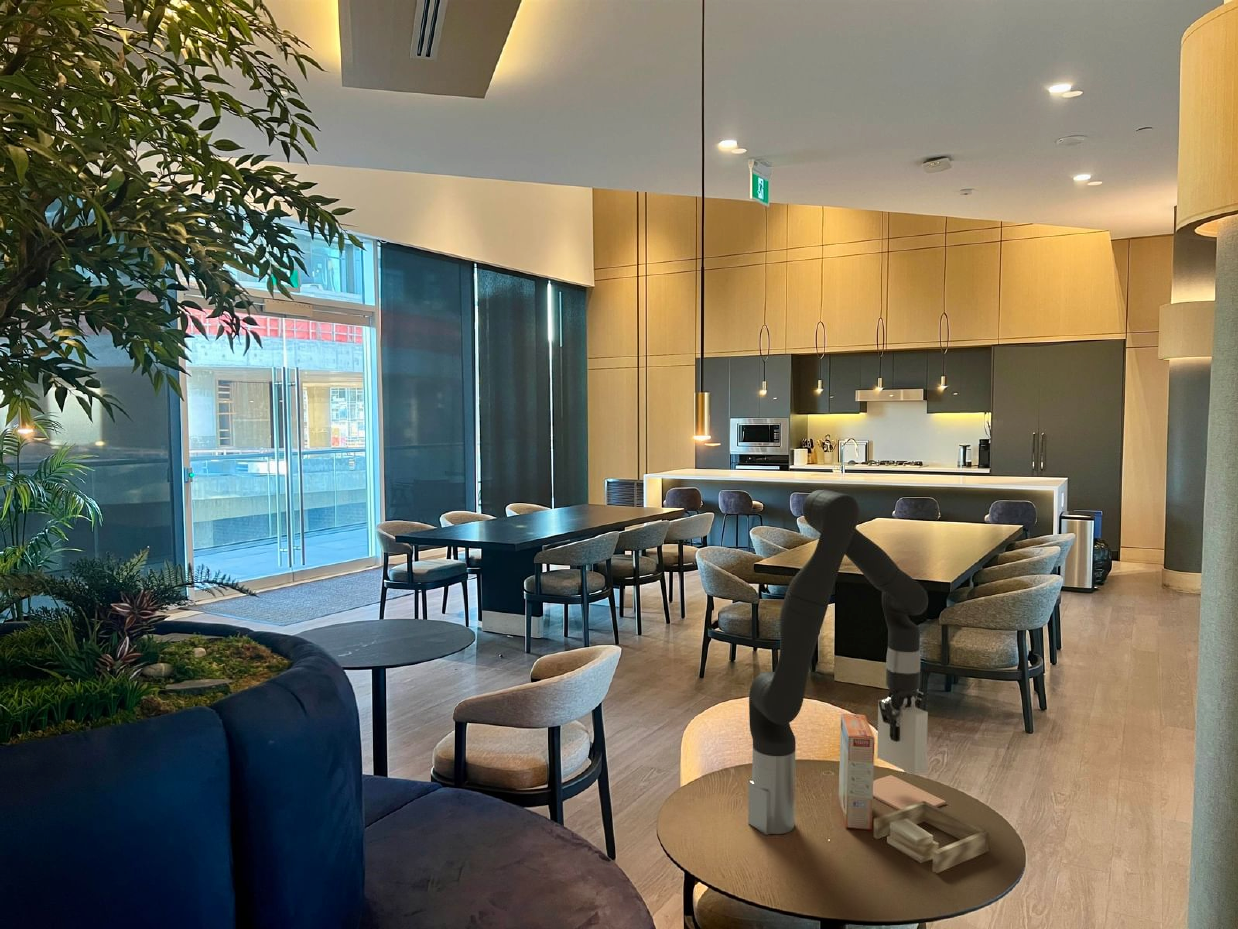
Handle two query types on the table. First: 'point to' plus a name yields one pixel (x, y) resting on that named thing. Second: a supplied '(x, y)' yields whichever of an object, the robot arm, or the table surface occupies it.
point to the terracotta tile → (901, 793)
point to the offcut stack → (912, 840)
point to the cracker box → (856, 771)
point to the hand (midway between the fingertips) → (901, 738)
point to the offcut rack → (950, 855)
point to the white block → (905, 741)
